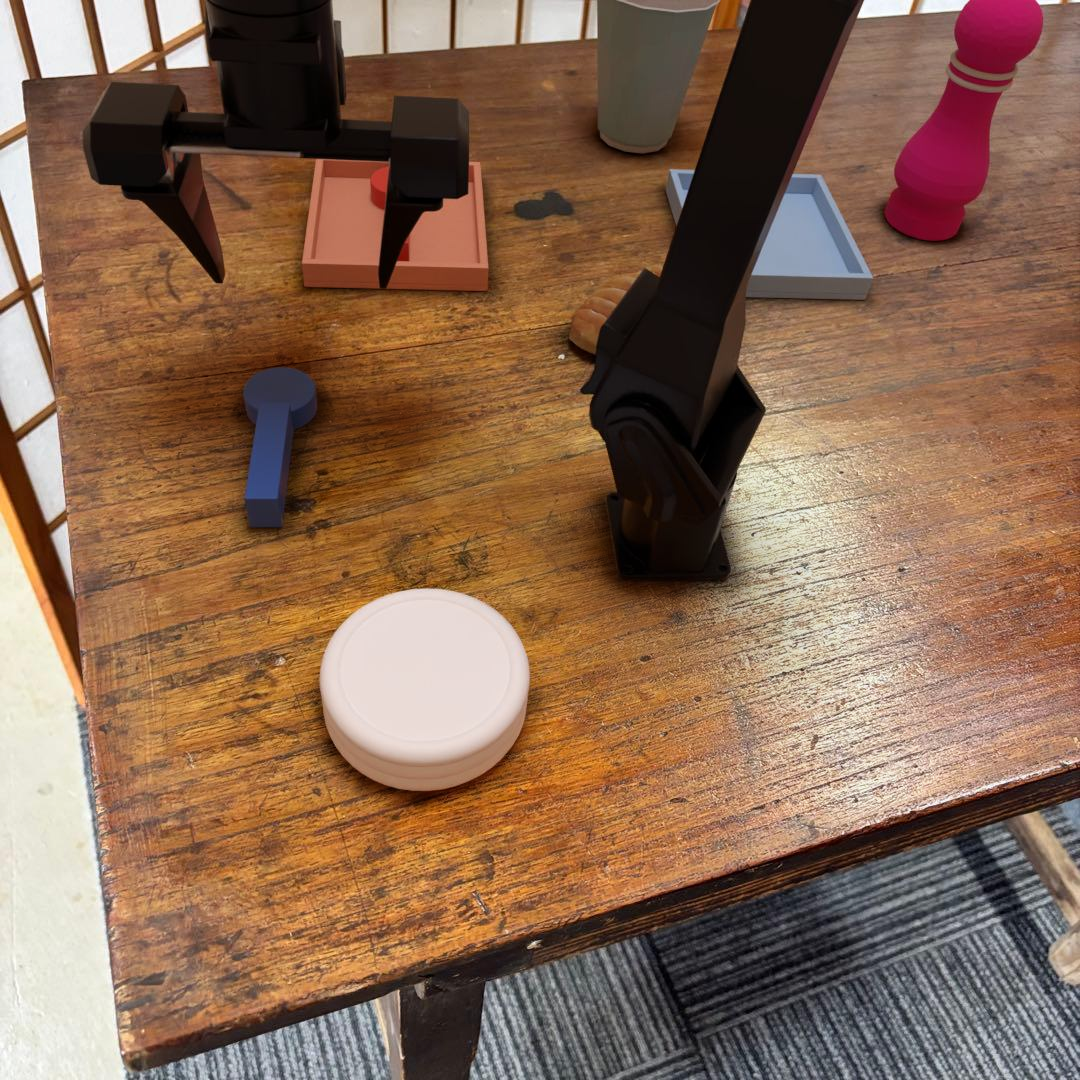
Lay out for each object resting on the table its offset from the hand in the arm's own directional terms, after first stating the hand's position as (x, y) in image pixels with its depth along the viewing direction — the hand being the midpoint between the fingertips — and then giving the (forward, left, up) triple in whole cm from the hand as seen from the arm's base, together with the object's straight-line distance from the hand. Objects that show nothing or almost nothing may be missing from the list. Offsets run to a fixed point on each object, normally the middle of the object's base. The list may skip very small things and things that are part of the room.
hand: (302, 282), depth 58 cm
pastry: (+8, -22, -9) cm, 25 cm away
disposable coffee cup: (+37, -26, -9) cm, 46 cm away
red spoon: (+20, -5, -9) cm, 23 cm away
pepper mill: (+24, -49, -9) cm, 55 cm away
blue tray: (+20, -34, -9) cm, 41 cm away
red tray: (+20, -5, -9) cm, 23 cm away
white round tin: (-23, -7, -9) cm, 26 cm away
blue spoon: (-5, +2, -9) cm, 10 cm away
